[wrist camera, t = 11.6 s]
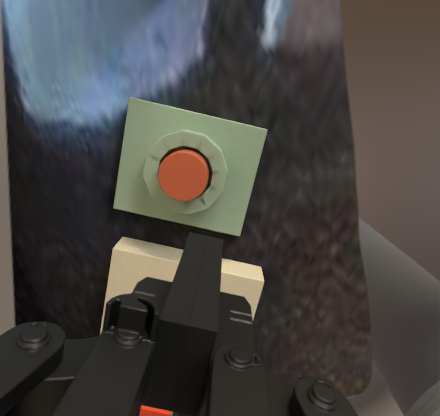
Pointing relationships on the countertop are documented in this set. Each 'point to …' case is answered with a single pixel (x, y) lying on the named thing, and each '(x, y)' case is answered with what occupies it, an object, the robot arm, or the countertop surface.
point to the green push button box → (195, 141)
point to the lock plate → (173, 271)
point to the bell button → (183, 175)
